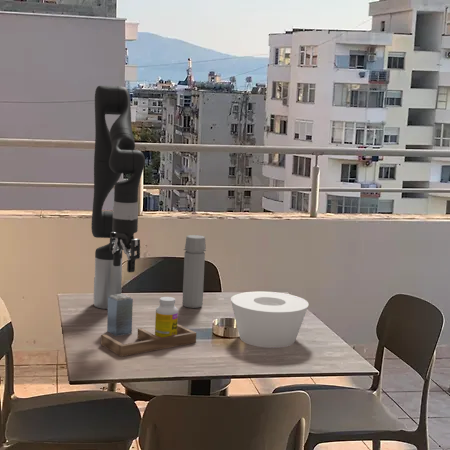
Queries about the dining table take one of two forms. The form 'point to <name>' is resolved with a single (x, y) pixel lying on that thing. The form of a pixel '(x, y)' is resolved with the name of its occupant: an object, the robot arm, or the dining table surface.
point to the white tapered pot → (268, 318)
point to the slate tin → (119, 314)
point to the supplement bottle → (166, 318)
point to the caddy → (149, 342)
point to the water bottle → (194, 271)
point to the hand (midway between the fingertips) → (123, 268)
